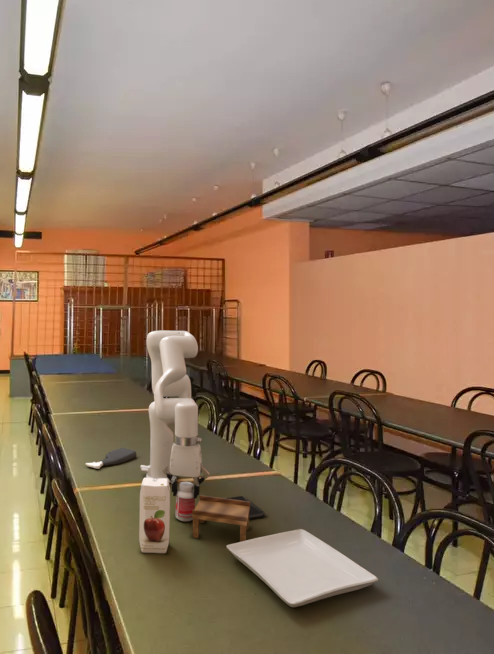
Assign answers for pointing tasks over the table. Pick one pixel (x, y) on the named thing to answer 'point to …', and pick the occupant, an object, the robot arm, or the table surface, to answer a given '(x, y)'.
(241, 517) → the stand
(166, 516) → the juice carton
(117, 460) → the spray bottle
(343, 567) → the square plate
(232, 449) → the table surface
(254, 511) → the phone
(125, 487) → the table surface
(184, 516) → the pill bottle
